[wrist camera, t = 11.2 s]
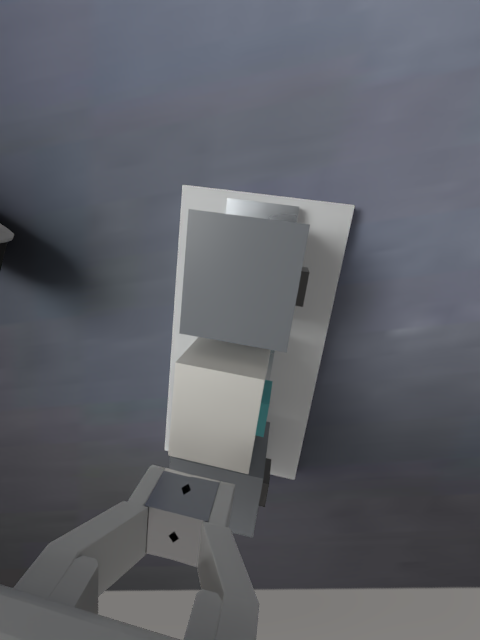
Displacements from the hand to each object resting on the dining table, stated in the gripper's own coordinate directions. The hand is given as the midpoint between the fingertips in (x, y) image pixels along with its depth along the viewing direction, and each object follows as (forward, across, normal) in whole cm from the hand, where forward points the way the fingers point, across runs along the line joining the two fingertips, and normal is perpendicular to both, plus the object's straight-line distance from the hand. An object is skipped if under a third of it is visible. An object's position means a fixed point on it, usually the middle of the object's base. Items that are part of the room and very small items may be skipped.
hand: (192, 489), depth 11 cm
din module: (+10, 0, 0) cm, 10 cm away
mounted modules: (+10, 0, -1) cm, 10 cm away
